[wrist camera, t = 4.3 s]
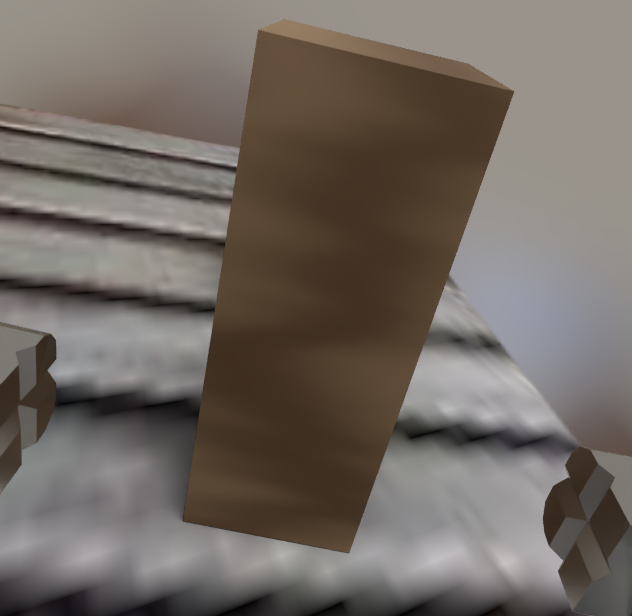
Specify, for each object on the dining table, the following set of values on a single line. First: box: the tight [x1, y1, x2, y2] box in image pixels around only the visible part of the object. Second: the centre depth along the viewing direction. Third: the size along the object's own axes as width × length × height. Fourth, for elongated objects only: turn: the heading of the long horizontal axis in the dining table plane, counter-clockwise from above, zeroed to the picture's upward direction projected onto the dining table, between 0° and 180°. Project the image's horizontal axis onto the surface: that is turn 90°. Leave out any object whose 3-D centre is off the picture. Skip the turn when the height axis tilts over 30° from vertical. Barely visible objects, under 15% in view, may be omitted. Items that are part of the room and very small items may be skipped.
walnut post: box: [183, 19, 514, 553], centre depth 15 cm, size 4×4×12 cm
